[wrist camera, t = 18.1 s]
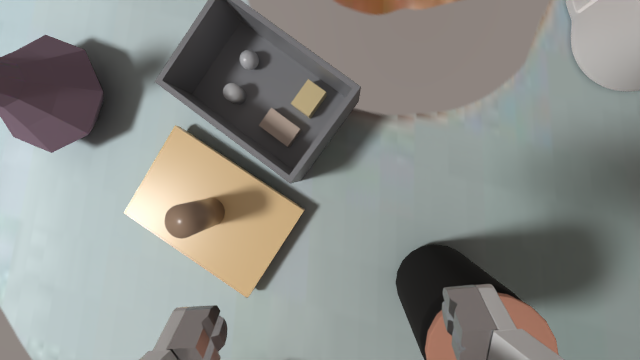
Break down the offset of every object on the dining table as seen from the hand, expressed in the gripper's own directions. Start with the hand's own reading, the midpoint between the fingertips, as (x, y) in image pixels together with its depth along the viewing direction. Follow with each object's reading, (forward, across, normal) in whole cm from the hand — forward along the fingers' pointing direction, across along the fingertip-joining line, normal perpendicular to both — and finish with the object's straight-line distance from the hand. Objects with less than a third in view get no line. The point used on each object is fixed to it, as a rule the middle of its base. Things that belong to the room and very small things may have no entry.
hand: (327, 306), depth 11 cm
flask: (+38, +40, -2) cm, 55 cm away
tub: (+37, +9, +2) cm, 38 cm away
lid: (+30, +19, +15) cm, 39 cm away
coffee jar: (+24, -11, +27) cm, 38 cm away
